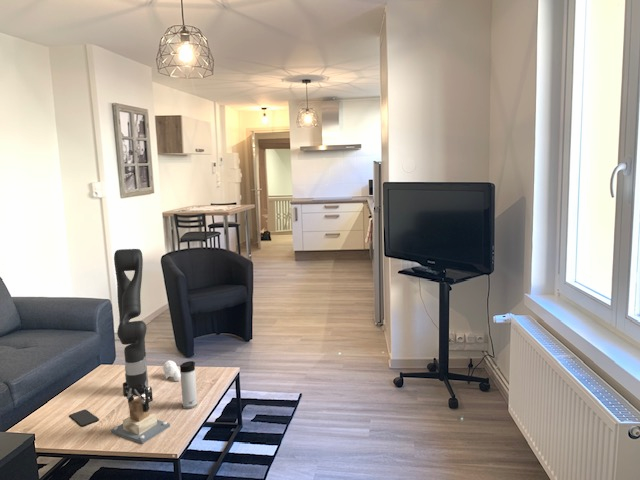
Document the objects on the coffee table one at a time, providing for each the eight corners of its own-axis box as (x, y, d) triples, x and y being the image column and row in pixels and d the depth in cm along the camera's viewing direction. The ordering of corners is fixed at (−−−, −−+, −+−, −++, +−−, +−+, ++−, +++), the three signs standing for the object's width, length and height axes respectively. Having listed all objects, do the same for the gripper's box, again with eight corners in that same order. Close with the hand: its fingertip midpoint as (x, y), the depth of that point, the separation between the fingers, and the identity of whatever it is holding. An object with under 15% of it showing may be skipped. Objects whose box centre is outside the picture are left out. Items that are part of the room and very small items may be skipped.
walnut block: (130, 419, 191) (128, 402, 190) (140, 413, 195) (139, 397, 194) (139, 421, 189) (137, 405, 188) (149, 415, 193) (147, 399, 192)
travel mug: (194, 409, 208) (191, 365, 205) (180, 408, 209) (177, 365, 206) (200, 402, 214) (197, 360, 211) (187, 401, 215) (183, 359, 212)
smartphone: (85, 408, 211) (100, 419, 201) (85, 410, 211) (100, 421, 201) (67, 415, 206) (81, 426, 196) (68, 417, 206) (82, 428, 196)
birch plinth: (123, 429, 191) (122, 420, 190) (141, 419, 198) (140, 410, 198) (139, 434, 186) (138, 425, 186) (157, 424, 194) (156, 414, 194)
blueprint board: (110, 432, 191) (110, 428, 190) (139, 416, 203) (138, 412, 203) (142, 443, 182) (142, 438, 182) (170, 426, 194) (169, 421, 194)
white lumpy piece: (172, 357, 245) (185, 365, 237) (173, 372, 247) (185, 381, 239) (161, 361, 241) (174, 369, 233) (161, 376, 242) (174, 385, 235)
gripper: (115, 371, 189) (119, 409, 191) (140, 377, 182) (144, 417, 185) (130, 364, 196) (134, 401, 198) (155, 370, 189) (159, 408, 191)
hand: (139, 409), depth 191 cm, fingers open, 8 cm apart
